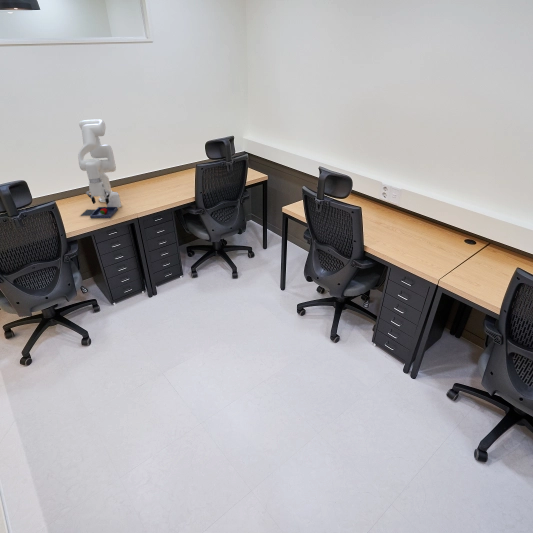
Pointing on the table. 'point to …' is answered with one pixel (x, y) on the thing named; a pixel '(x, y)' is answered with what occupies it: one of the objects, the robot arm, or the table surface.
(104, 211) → the strawberry
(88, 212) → the mat
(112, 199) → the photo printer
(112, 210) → the tray
